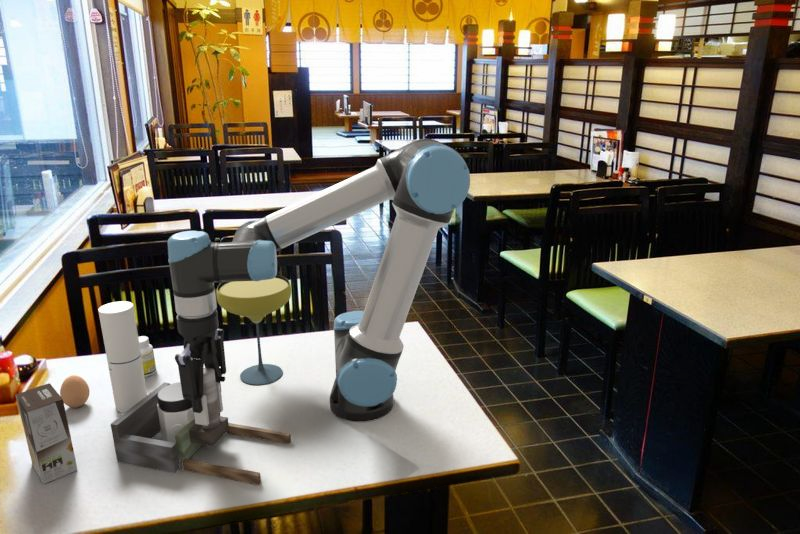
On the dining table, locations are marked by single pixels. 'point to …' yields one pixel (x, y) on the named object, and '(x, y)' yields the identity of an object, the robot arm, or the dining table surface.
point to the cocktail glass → (255, 315)
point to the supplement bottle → (147, 356)
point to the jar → (173, 411)
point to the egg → (74, 391)
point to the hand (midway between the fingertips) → (209, 416)
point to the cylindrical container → (123, 354)
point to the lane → (144, 451)
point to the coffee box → (47, 432)
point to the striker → (202, 434)
